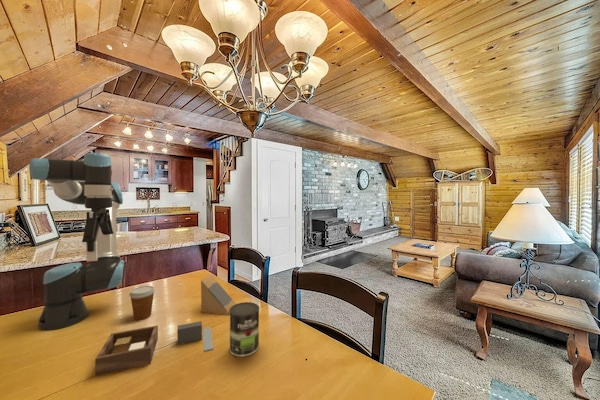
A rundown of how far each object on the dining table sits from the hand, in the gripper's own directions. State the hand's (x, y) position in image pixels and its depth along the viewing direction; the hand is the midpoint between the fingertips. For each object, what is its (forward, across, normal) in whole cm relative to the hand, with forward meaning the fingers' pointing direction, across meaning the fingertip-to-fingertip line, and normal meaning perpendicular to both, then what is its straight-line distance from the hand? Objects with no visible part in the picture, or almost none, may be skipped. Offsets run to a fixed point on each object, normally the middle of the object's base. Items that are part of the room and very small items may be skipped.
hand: (99, 256), depth 88 cm
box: (+32, -14, -12) cm, 37 cm away
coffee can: (+32, -22, -48) cm, 62 cm away
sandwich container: (+32, +10, -42) cm, 54 cm away
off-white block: (+31, -16, -14) cm, 38 cm away
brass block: (+31, -12, -10) cm, 34 cm away
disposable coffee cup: (+32, +16, -10) cm, 37 cm away
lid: (+32, -12, -30) cm, 46 cm away
